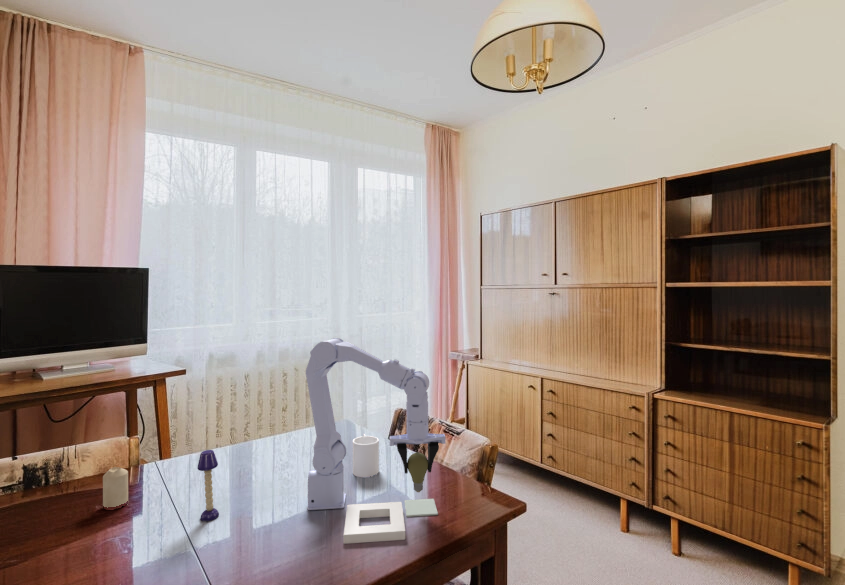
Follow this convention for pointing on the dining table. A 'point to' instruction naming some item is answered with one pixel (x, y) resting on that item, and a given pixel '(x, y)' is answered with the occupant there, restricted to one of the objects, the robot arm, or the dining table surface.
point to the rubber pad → (420, 507)
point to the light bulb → (417, 469)
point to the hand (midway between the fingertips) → (417, 471)
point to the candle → (115, 487)
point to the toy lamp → (208, 483)
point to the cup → (365, 456)
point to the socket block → (374, 532)
